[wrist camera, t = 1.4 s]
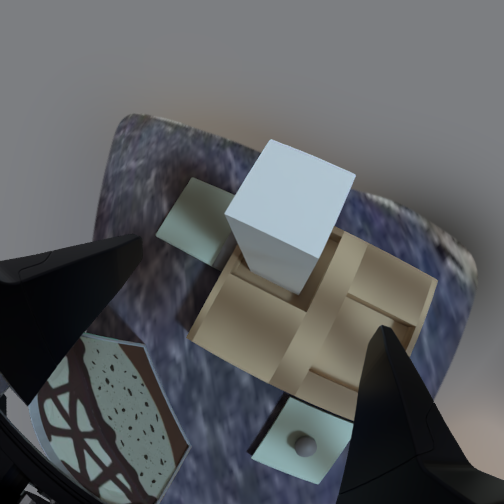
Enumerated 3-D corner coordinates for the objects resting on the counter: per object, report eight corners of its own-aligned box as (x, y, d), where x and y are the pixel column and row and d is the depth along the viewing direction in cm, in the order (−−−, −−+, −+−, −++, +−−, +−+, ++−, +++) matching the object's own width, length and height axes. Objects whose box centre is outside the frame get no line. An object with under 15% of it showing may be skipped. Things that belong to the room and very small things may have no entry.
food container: (86, 349, 22) (2, 347, 12) (139, 327, 22) (58, 318, 12) (140, 472, 18) (79, 522, 9) (199, 461, 18) (154, 525, 9)
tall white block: (298, 295, 21) (318, 258, 10) (250, 271, 22) (224, 213, 11) (321, 248, 22) (355, 174, 11) (274, 226, 23) (270, 139, 12)
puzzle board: (322, 483, 17) (326, 494, 15) (96, 355, 21) (82, 356, 20) (426, 284, 21) (437, 280, 19) (196, 175, 25) (190, 163, 23)
